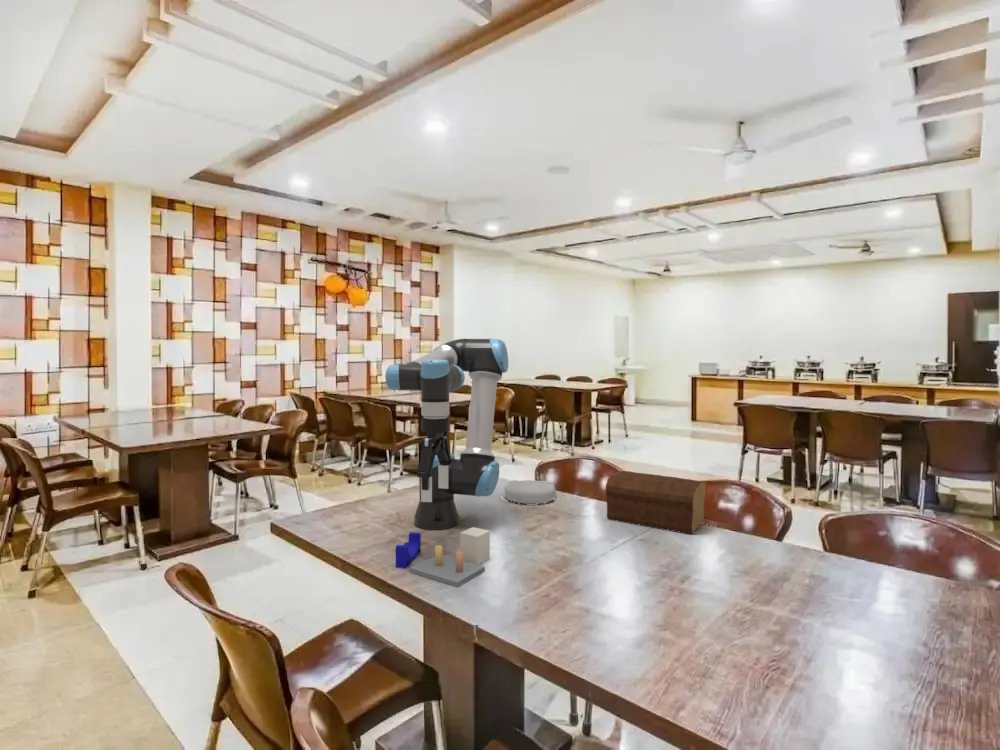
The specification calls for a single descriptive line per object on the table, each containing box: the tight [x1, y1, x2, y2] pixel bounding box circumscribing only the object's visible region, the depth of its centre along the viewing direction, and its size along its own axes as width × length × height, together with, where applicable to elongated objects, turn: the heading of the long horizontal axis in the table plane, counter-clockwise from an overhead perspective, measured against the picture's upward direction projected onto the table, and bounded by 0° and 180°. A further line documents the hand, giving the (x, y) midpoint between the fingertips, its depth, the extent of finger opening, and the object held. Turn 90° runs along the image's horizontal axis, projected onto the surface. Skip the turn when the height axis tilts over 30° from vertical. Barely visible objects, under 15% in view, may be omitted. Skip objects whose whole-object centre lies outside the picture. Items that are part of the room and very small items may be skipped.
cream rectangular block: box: [459, 526, 491, 565], centre depth 159 cm, size 6×6×8 cm
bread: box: [605, 470, 706, 535], centre depth 195 cm, size 18×30×16 cm, turn 57°
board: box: [409, 544, 486, 588], centre depth 150 cm, size 12×16×6 cm
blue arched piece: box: [395, 531, 422, 569], centre depth 159 cm, size 12×4×6 cm, turn 169°
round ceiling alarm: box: [504, 479, 557, 505], centre depth 224 cm, size 25×25×6 cm
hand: (435, 494), depth 153 cm, fingers open, 13 cm apart
